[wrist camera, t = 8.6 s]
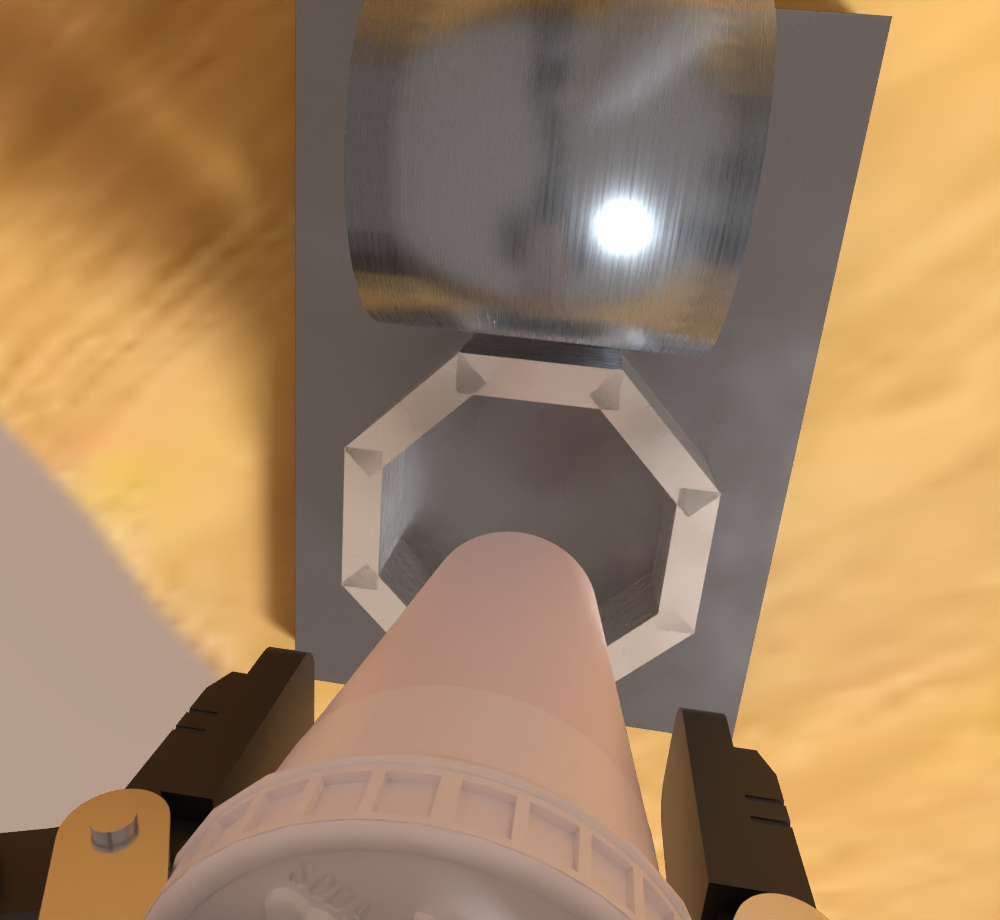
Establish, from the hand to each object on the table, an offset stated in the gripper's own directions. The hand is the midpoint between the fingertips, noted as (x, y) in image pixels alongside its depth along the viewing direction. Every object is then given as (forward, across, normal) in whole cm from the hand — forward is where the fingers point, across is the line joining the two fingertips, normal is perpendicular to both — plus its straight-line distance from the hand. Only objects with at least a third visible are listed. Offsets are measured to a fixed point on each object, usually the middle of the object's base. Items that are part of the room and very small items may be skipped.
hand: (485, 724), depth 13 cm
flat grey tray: (+12, 0, -3) cm, 12 cm away
